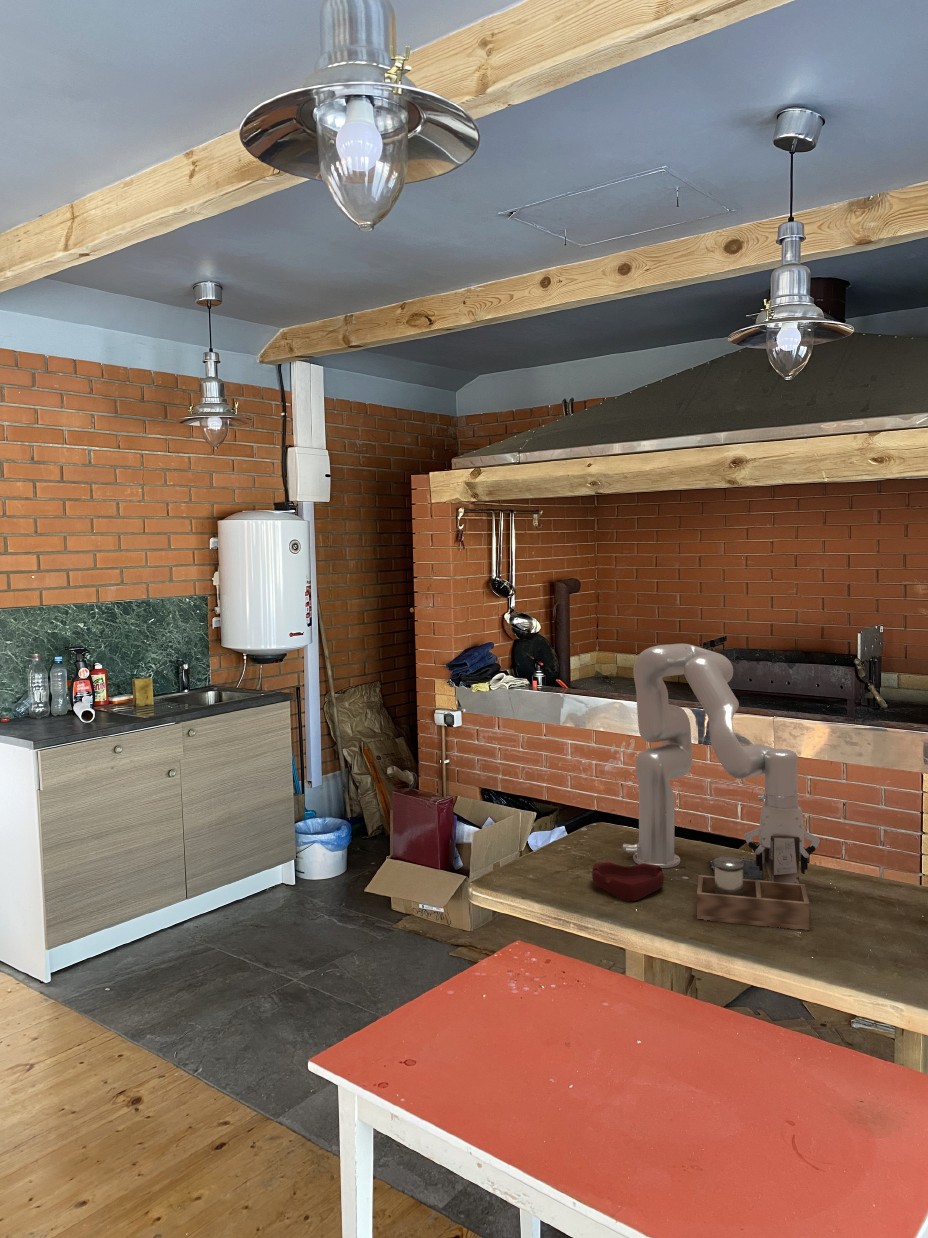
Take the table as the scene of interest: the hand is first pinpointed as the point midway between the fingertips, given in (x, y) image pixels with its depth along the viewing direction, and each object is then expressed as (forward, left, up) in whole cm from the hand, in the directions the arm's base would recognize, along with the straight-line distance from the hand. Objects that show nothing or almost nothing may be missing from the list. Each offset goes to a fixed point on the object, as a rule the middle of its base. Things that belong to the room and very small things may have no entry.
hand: (781, 870), depth 214 cm
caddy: (-7, -13, -7) cm, 16 cm away
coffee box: (0, 0, -7) cm, 7 cm away
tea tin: (-12, -13, -7) cm, 19 cm away
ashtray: (-36, -5, -7) cm, 37 cm away
